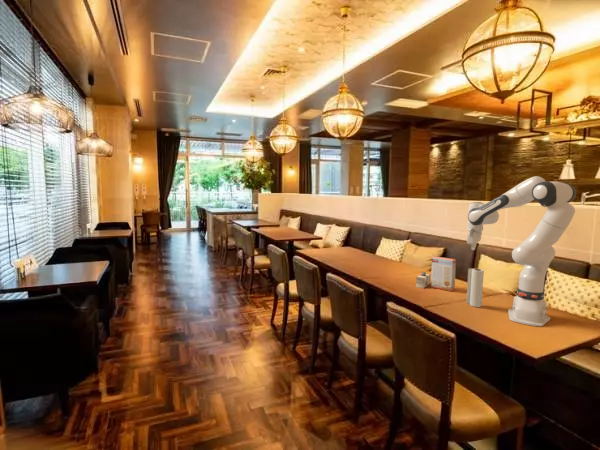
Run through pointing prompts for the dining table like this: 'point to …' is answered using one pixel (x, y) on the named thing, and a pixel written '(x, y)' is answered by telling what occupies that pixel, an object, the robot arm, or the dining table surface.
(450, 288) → the cracker box
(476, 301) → the paper towel roll
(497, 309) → the dining table surface
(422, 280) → the stop block
